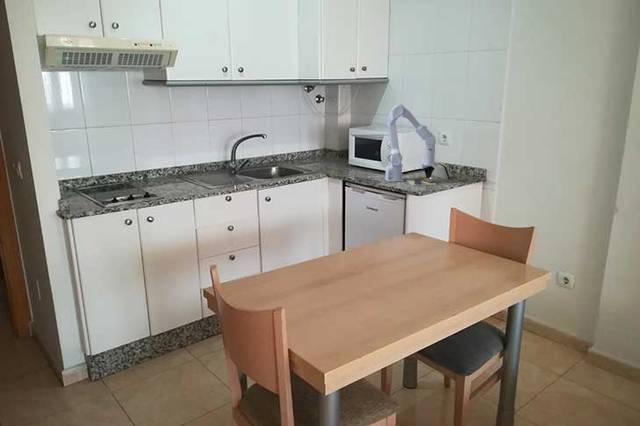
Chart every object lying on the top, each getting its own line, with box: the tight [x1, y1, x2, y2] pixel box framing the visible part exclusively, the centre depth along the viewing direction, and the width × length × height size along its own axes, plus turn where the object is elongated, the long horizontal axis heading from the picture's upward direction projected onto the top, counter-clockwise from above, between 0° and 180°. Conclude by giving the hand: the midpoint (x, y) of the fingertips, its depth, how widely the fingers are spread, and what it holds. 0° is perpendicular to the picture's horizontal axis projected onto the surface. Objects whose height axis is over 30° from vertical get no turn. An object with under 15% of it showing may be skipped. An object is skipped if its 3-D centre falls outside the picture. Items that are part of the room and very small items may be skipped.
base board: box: [406, 179, 437, 187], centre depth 282 cm, size 14×13×1 cm
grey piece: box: [431, 161, 453, 179], centre depth 300 cm, size 17×5×10 cm, turn 28°
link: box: [418, 175, 435, 183], centre depth 283 cm, size 12×4×2 cm, turn 28°
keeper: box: [412, 176, 421, 184], centre depth 278 cm, size 4×6×3 cm, turn 6°
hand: (428, 179), depth 285 cm, fingers closed
